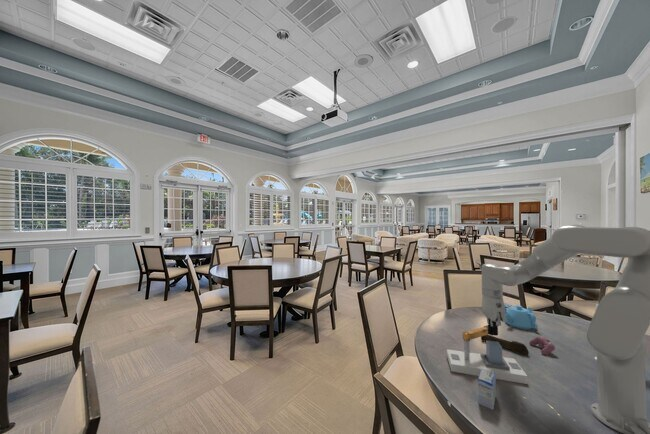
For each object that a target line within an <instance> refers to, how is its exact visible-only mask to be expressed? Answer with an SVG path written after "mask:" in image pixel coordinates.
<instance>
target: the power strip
mask: <svg viewBox="0 0 650 434" xmlns="http://www.w3.org/2000/svg"><path fill="white" fill-rule="evenodd" d="M446 357H447V360H448V364H449V368H450V372H454V373H460V374H466V375H471V376H477V377H479V374H480V371H481V368H483V369H486V370H489V371H492V372H494V373H495V374H496V380H502V381H506V382H507V381H508V382H514V383H519V384H526V385H528V384H529V383H528V382H529V381H528V380H529V379H528V375H527V373H526V372H525V371H524V369H523V368H522V366H520V364H519V363H518V361H516V359H515V358H511V357H505V356H502V362H503V365H498V364H492V363H488V361H487V357H486V353H475V352H470V341H466V340H464V339H463V351H460V350H454V349H446Z"/></svg>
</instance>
